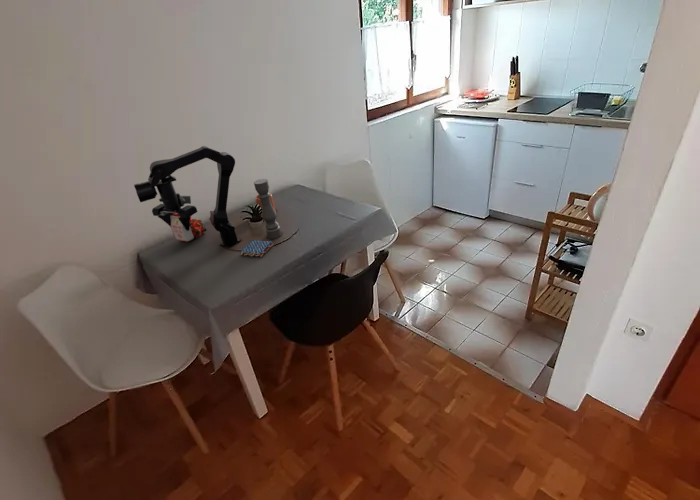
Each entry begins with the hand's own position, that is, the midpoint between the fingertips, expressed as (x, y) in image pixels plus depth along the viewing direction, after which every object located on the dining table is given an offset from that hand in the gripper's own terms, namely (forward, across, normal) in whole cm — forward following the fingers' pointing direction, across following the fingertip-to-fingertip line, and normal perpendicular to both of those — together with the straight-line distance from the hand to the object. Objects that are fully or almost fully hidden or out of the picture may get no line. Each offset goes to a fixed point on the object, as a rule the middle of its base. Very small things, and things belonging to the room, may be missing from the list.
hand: (181, 229), depth 168 cm
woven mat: (+13, -27, -10) cm, 31 cm away
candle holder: (+13, -27, -23) cm, 38 cm away
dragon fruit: (+13, +12, -17) cm, 24 cm away
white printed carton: (+4, 0, 0) cm, 4 cm away
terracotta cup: (+13, -10, -44) cm, 47 cm away
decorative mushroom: (+5, +14, -13) cm, 20 cm away
